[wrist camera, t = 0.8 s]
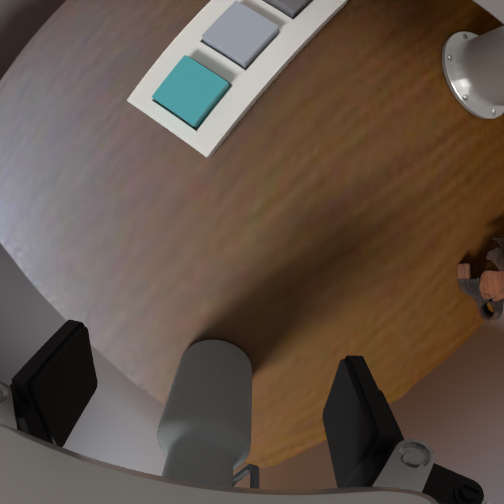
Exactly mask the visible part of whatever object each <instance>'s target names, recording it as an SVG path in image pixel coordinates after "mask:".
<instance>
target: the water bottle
mask: <svg viewBox="0 0 504 504" xmlns="http://www.w3.org/2000/svg"><path fill="white" fill-rule="evenodd" d="M251 412H252V366H251V363H250V360H249V358H248V357H247V355H246V354H245V353H244V352H243V351H242V350H241V349H240V348H238V347H237V346H235V345H233V344H231V343H229V342H226V341H222V340H204V341H200V342H197V343H195V344H193V345H192V346H190V347H189V348H188V349H187V350H186V351H185V352H184V354H183V356H182V358H181V360H180V363H179V366H178V369H177V372H176V375H175V378H174V381H173V384H172V387H171V390H170V393H169V396H168V399H167V402H166V405H165V408H164V411H163V414H162V417H161V420H160V423H159V426H158V433H157V440H158V444H159V446H160V448H161V450H162V452H163V453H164V454H165V455H166V457H167V458H166V462H165V466H164V470H163V474H162V477H167V478H173V479H178V480H184V481H190V482H197V483H204V484H212V485H220V486H230V487H233V486H234V485H235V484H236V483H237V482H238V481H240V480H241V479H242V478H244V477H245V476H246V475H248V474H249V473H250V488H257V489H259V468H258V466H256V465H252V464H249V465H248V466H246V467H245V468H243V469H242V470H241V471H240V472H238V473H237V474H236V475H235V476H233V469H234V468H236V467H237V466H239V465H240V464H241V463H243V462H244V460H245V459H246V458H247V456H248V454H249V452H250V446H251Z"/></svg>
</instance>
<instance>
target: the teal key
mask: <svg viewBox="0 0 504 504" xmlns="http://www.w3.org/2000/svg"><path fill="white" fill-rule="evenodd" d="M229 88H230V87H229V84H228V82H226V81H225V80H224V79H222V78H221V77H219V76H218V75H216V74H215V73H213V72H211V71H210V70H208V69H207V68H205V67H204V66H202V65H201V64H199V63H197V62H196V61H194V60H193V59H191V58H189V57H188V56H186V55H184V56H183V58H182V59H181V60H180V61H179V62H178V64H177V65H176V66H175V67H174V68H173V70H172V71H171V72H170V73H169V75H168V76H167V77H166V78H165V80H164V81H163V82H162V84H161V85H160V86H159V87H158V89H157V90H156V91H155V93H154V94H153V95H152V98H153V99H155V100H156V101H158V102H159V103H161V104H162V105H164V106H165V107H167V108H168V109H170V110H171V111H172V112H174V113H175V114H177V115H178V116H180V117H181V118H182V119H184V120H185V121H187V122H188V123H190V124H191V125H192V126H194V127H196V128H198V127H199V126H200V124H201V123H202V122H203V121H204V119H205V118H206V117H207V115H208V114H209V113H210V112H211V110H212V109H213V108H214V107H215V105H216V104H217V103H218V102H219V100H220V99H221V98H222V97H223V96H224V94H225V93H226V92H227V91H228V90H229Z"/></svg>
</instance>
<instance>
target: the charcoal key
mask: <svg viewBox="0 0 504 504" xmlns="http://www.w3.org/2000/svg"><path fill="white" fill-rule="evenodd" d="M262 1H264V2H266V3H267V4H269V5H271V6H272V7H274V8H276V9H277V10H279V11H280V12H282V13H284V14H285V15H287V16H288V17H290V18H291V19H294V18H295V17H296V16H297V15H298V14H299V13H300V12H301V11H302V10H303V9H304V8H305V7H306V6H307V5H308V4H309V3H310V2H311V1H312V0H262Z"/></svg>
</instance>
